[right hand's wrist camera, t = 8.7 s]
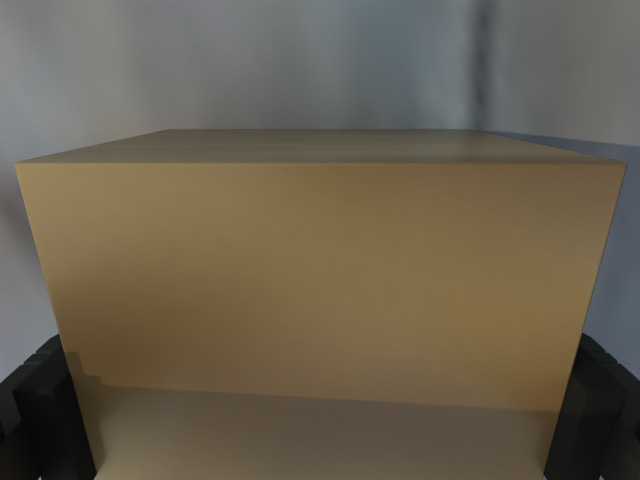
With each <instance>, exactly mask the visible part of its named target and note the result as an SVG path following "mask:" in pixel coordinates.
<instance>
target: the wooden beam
mask: <svg viewBox="0 0 640 480" xmlns="http://www.w3.org/2000/svg"><path fill="white" fill-rule="evenodd" d="M626 168H627V165H626V164H625V163H623V162H620V161H615V160H611V159H606V158H601V157H597V156H592V155H587V154H583V153H578V152H574V151H569V150H564V149H560V148H555V147H550V146H546V145H541V144H537V143H532V142H527V141H523V140H518V139H513V138H509V137H504V136H500V135H495V134H490V133H486V132H481V131H476V130H472V129H168V130H163V131H158V132H154V133H149V134H145V135H140V136H135V137H131V138H126V139H121V140H117V141H112V142H107V143H103V144H98V145H93V146H89V147H84V148H80V149H75V150H70V151H66V152H61V153H56V154H52V155H47V156H42V157H38V158H33V159H28V160H24V161H19V162H17V163H15V170H16V173H17V177H18V181H19V185H20V188H21V192H22V196H23V200H24V203H25V207H26V211H27V215H28V218H29V222H30V226H31V230H32V233H33V237H34V241H35V245H36V248H37V252H38V256H39V260H40V263H41V267H42V271H43V275H44V278H45V282H46V286H47V290H48V293H49V297H50V301H51V305H52V308H53V312H54V316H55V320H56V323H57V327H58V331H59V335H60V338H61V342H62V346H63V350H64V353H65V357H66V361H67V365H68V368H69V372H70V376H71V380H72V383H73V387H74V391H75V395H76V398H77V402H78V406H79V410H80V413H81V417H82V421H83V425H84V428H85V432H86V436H87V440H88V443H89V447H90V451H91V455H92V458H93V462H94V466H95V470H96V473H97V477H98V480H542V479H543V476H544V472H545V468H546V464H547V461H548V457H549V453H550V450H551V446H552V442H553V438H554V435H555V431H556V427H557V424H558V420H559V416H560V412H561V409H562V405H563V401H564V398H565V394H566V390H567V387H568V383H569V379H570V375H571V372H572V368H573V364H574V361H575V357H576V353H577V349H578V346H579V342H580V338H581V335H582V331H583V327H584V324H585V320H586V316H587V312H588V309H589V305H590V301H591V298H592V294H593V290H594V286H595V283H596V279H597V275H598V272H599V268H600V264H601V260H602V257H603V253H604V249H605V246H606V242H607V238H608V235H609V231H610V227H611V223H612V220H613V216H614V212H615V209H616V205H617V201H618V197H619V194H620V190H621V186H622V183H623V179H624V175H625V171H626Z"/></svg>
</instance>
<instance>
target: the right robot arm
mask: <svg viewBox="0 0 640 480" xmlns="http://www.w3.org/2000/svg"><path fill="white" fill-rule="evenodd" d="M96 475H97V473H96V470H95V466H94V462H93V458H92V455H91V451H90V447H89V443H88V440H87V436H86V432H85V428H84V425H83V421H82V417H81V413H80V410H79V406H78V402H77V398H76V395H75V391H74V387H73V383H72V380H71V376H70V372H69V368H68V365H67V361H66V357H65V353H64V350H63V346H62V342H61V338H60V335H59V334H57V335H56V336H54V337H52V338H50V339H49V340H48V341H47V342H46V343H45V344H43V345H42V346H41V347H40V348H39V349H38V350H37V351H36V354H32V355H31V356H30V357H29V358H28V359H27V360H26V361H25V362H24V364H23V365H20V366H19V367H18V368H17V369H16V370H15V371H13V372H12V373H11V374H10V375H9V376H8V377H7V378H6V379H4V380H3V381H2V382H1V383H0V480H38V479H39V477H40V476H41V479H42V480H94V478H95V476H96ZM600 475H601V476H602V477H603V479H604V480H640V381H639V380H638V379H637V378H636V377H635V376H634V375H633V374H631V373H630V372H629V371H628V370H627V369H626V368H625V367H624V366H622V365H621V364H618V363H617V360H616V359H615V358H614V357H612V356H611V355H610V354H609V353H606V352H605V349H603V348H602V347H601V346H600V345H599V344H598V343H597V342H596V341H594V340H593V339H592V338H591V337H589V336H588V335H586V334H584V333H582V335H581V338H580V342H579V346H578V349H577V353H576V357H575V361H574V364H573V368H572V372H571V375H570V379H569V383H568V387H567V390H566V394H565V398H564V401H563V405H562V409H561V412H560V416H559V420H558V424H557V427H556V431H555V435H554V438H553V442H552V446H551V450H550V453H549V457H548V461H547V464H546V468H545V472H544V476H545V477H546V479H547V480H599V478H600Z"/></svg>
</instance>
